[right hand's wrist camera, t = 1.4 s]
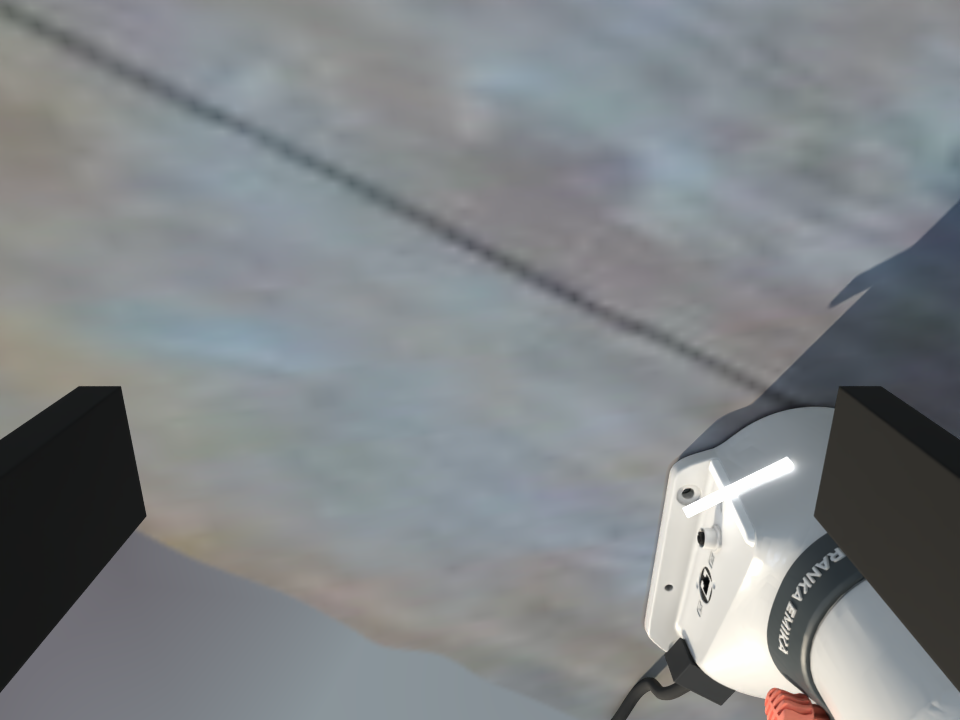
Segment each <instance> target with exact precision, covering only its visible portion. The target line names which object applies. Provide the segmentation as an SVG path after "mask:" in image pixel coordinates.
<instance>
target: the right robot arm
mask: <svg viewBox="0 0 960 720" xmlns="http://www.w3.org/2000/svg"><path fill="white" fill-rule="evenodd" d="M145 517H146V511H145V506H144V501H143V496H142V491H141V486H140V481H139V476H138V471H137V466H136V461H135V455H134V450H133V445H132V440H131V435H130V430H129V425H128V420H127V415H126V410H125V405H124V400H123V395H122V390H121V386H79V387H77V388H76V389H74V390H73V391H71V392H70V393H68V394H67V395H66V396H64V397H63V398H61V399H60V400H58V401H57V402H55V403H54V404H52V405H51V406H49V407H48V408H46V409H45V410H43V411H42V412H41V413H39V414H38V415H36V416H35V417H33V418H32V419H30V420H29V421H27V422H26V423H24V424H23V425H21V426H20V427H19V428H17V429H16V430H14V431H13V432H11V433H10V434H8V435H7V436H5V437H4V438H2V439H1V440H0V692H1V691H2V690H3V689H4V688H5V686H6V685H7V684H8V683H9V682H10V680H11V679H12V678H13V677H14V675H15V674H16V673H17V672H18V671H19V669H20V668H21V667H22V666H23V665H24V663H25V662H26V661H27V660H28V659H29V657H30V656H31V655H32V654H33V653H34V651H35V650H36V649H37V648H38V646H39V645H40V644H41V643H42V642H43V640H44V639H45V638H46V637H47V636H48V634H49V633H50V632H51V631H52V630H53V628H54V627H55V626H56V625H57V624H58V622H59V621H60V620H61V619H62V617H63V616H64V615H65V614H66V613H67V611H68V610H69V609H70V608H71V607H72V605H73V604H74V603H75V602H76V600H77V599H78V598H79V597H80V596H81V595H82V593H83V592H84V591H85V590H86V589H87V587H88V586H89V585H90V584H91V582H92V581H93V580H94V579H95V577H96V576H97V575H98V574H99V573H100V572H101V570H102V569H103V568H104V567H105V566H106V564H107V563H108V562H109V561H110V560H111V558H112V557H113V556H114V555H115V553H116V552H117V551H118V550H119V549H120V547H121V546H122V545H123V544H124V543H125V541H126V540H127V539H128V538H129V536H130V535H131V534H132V533H133V532H134V531H135V529H136V528H137V527H138V526H139V524H140V523H141V522H142V521H143V520H144V518H145ZM814 517H815V518H816V520H817V521H818V522H819V523H820V524H821V526H822V527H823V528H824V529H825V531H826V532H827V533H828V534H829V535H830V537H831V538H832V539H833V540H834V541H835V543H836V544H837V545H838V546H839V547H840V549H841V550H842V551H843V552H844V553H845V555H846V556H847V557H848V558H849V560H850V561H851V562H852V563H853V564H854V566H855V567H856V568H857V569H858V570H859V572H860V573H861V574H862V575H863V576H864V578H865V579H866V580H867V581H868V582H869V584H870V585H871V586H872V587H873V589H874V590H875V591H876V592H877V593H878V595H879V596H880V597H881V598H882V599H883V601H884V602H885V603H886V604H887V605H888V607H889V608H890V609H891V610H892V611H893V613H894V614H895V615H896V616H897V617H898V619H899V620H900V621H901V622H902V624H903V625H904V626H905V627H906V628H907V630H908V631H909V632H910V633H911V634H912V636H913V637H914V638H915V639H916V640H917V642H918V643H919V644H920V645H921V646H922V648H923V649H924V650H925V651H926V653H927V654H928V655H929V656H930V657H931V659H932V660H933V661H934V662H935V663H936V665H937V666H938V667H939V668H940V669H941V671H942V672H943V673H944V674H945V675H946V677H947V678H948V679H949V680H950V682H951V683H952V684H953V685H954V686H955V688H956V689H957V690H958V691H959V692H960V440H959V439H958V438H956V437H955V436H953V435H952V434H950V433H949V432H947V431H946V430H944V429H943V428H941V427H940V426H939V425H937V424H936V423H934V422H933V421H931V420H930V419H928V418H927V417H925V416H924V415H922V414H921V413H919V412H918V411H917V410H915V409H914V408H912V407H911V406H909V405H908V404H906V403H905V402H903V401H902V400H900V399H899V398H897V397H896V396H894V395H893V394H892V393H890V392H889V391H887V390H886V389H884V388H883V387H881V386H839V390H838V395H837V400H836V405H835V410H834V415H833V420H832V425H831V430H830V435H829V440H828V445H827V450H826V455H825V461H824V466H823V471H822V476H821V481H820V486H819V491H818V496H817V501H816V506H815V511H814Z"/></svg>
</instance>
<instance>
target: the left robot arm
mask: <svg viewBox="0 0 960 720" xmlns="http://www.w3.org/2000/svg"><path fill="white" fill-rule="evenodd" d="M834 410H835V408H829V407H801V408H794V409H789V410H785V411H781V412H777V413H774V414H771V415H769V416H766V417H764V418H762V419H760V420H757V421H755V422H753V423H752V424H750V425H748V426H747V427H745V428H743V429H742V430H740V431H739V432H738V433H736V434H735V435H734V436H732V437H731V438H729V439H728V440H727V441H725V442H724V443H722V444H721V445H719V446H717V447H715V448H713V449H709V450H706V451H702V452H699V453H696V454H693V455H690V456H687V457H685V458H683V459H681V460H679V461H678V462H676V463H675V464H674V465H673V467H672V468H671V471H670V474H669V480H668V486H667V492H666V498H665V503H664V509H663V515H662V521H661V527H660V533H659V539H658V545H657V551H656V557H655V563H654V569H653V574H652V580H651V586H650V592H649V598H648V604H647V610H646V616H645V630H646V632H647V634H648V636H649V638H650V639H651V640H652V641H653V642H654V643H655V644H656V645H658V646H659V647H660V648H661V649H663V650H664V651H666V654H665V658H666V661H667V663H668V666H669V669H670V672H671V675H672V678H673V681H674V682H675V683H674V684H672V685H670V686H667V687H662V686H661V684H660V683H659V682H658V681H657V680H656V679H654V678H645V679H643V680H642V681H640V682H639V683H638V684H637V685H635V687H634V688H633V689H632V690H631V691H630V692H629V694H628V695H627V697H626V698H625V700H624V701H623V703H622V704H621V706H620V708H619V709H618V711H617V712H616V714H615V715H614V716H613V718H612V719H611V720H626V719H627V717H628V716H629V714H630V713H631V711H632V709H633V708H634V706H635V705H636V703H637V702H638V700H639V699H640V698H641V697H642V696H643V695H644V694H645V693H646V692H648V691H650V690H651V691H652V693H653V694H654V695H655V696H656V697H657V698H658V699H661V700H672V699H675V698H677V697H680V696H681V695H683V694H685V693H687V692H689V691H690V690H691V691H693V692H695V693H697V694H699V695H701V696H703V697H705V698H707V699H709V700H711V701H713V702H715V703H717V704H719V705H722V704H723V703H724V702H725V701H726V700H727V699H728V698H729V697H730V696H731V695H732V694H733V693H734V692H735V691H739V692H742V693H745V694H748V695H751V696H755V697H760V698H764V699H765V706H766V709H765V713H766V715H768V716H767V719H768V720H960V692H959V691H958V690H957V689H956V688H955V686H954V685H953V684H952V683H951V682H950V680H949V679H948V678H947V677H946V675H945V674H944V673H943V672H942V671H941V669H940V668H939V667H938V666H937V665H936V663H935V662H934V661H933V660H932V659H931V657H930V656H929V655H928V654H927V653H926V651H925V650H924V649H923V648H922V646H921V645H920V644H919V643H918V642H917V640H916V639H915V638H914V637H913V636H912V634H911V633H910V632H909V631H908V630H907V628H906V627H905V626H904V625H903V624H902V622H901V621H900V620H899V619H898V617H897V616H896V615H895V614H894V613H893V611H892V610H891V609H890V608H889V607H888V605H887V604H886V603H885V602H884V601H883V599H882V598H881V597H880V596H879V595H878V593H877V592H876V591H875V590H874V589H873V587H872V586H871V585H870V584H869V582H868V581H867V580H866V579H865V578H864V576H863V575H862V574H861V573H860V572H859V570H858V569H857V568H856V567H855V566H854V564H853V563H852V562H851V561H850V560H849V558H848V557H847V556H846V555H845V553H844V552H843V551H842V550H841V549H840V547H839V546H838V545H837V544H836V543H835V541H834V540H833V539H832V538H831V537H830V535H829V534H828V533H827V532H826V531H825V529H824V528H823V527H822V526H821V524H820V523H819V522H818V521H817V520H816V518H815V517H814V511H815V506H816V501H817V496H818V491H819V486H820V481H821V476H822V471H823V466H824V461H825V455H826V450H827V445H828V440H829V435H830V430H831V425H832V420H833V415H834ZM686 488H691V490H690V491H689V492H688V493H682V492H683V490H684V489H686ZM815 703H816V704H817V705H816V704H815Z"/></svg>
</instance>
